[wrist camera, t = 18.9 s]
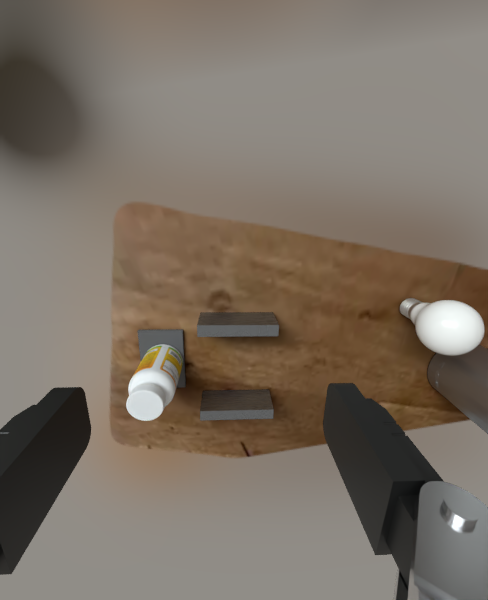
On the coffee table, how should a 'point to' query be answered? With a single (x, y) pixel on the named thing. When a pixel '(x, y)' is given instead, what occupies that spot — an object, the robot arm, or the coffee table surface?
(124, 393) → the coffee table surface
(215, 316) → the grey bricks
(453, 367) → the robot arm
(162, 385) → the supplement bottle
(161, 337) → the gray rectangular block
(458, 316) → the lightbulb
